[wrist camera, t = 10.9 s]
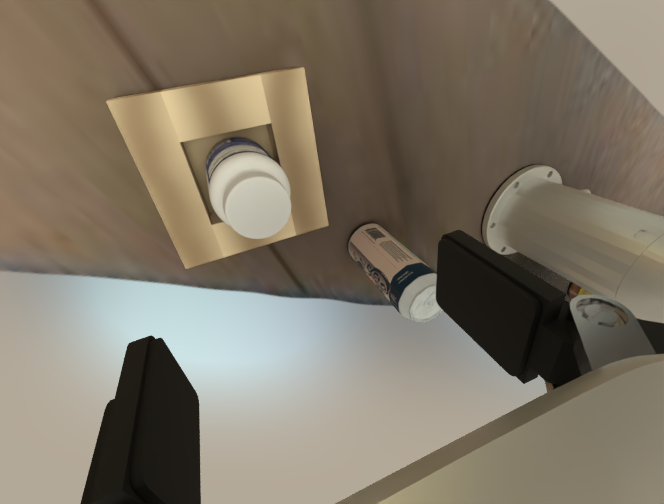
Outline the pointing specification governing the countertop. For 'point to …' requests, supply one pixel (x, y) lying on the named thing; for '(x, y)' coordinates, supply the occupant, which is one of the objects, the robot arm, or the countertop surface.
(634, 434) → the robot arm
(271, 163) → the pill bottle
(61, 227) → the countertop surface
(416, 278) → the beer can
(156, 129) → the socket block
